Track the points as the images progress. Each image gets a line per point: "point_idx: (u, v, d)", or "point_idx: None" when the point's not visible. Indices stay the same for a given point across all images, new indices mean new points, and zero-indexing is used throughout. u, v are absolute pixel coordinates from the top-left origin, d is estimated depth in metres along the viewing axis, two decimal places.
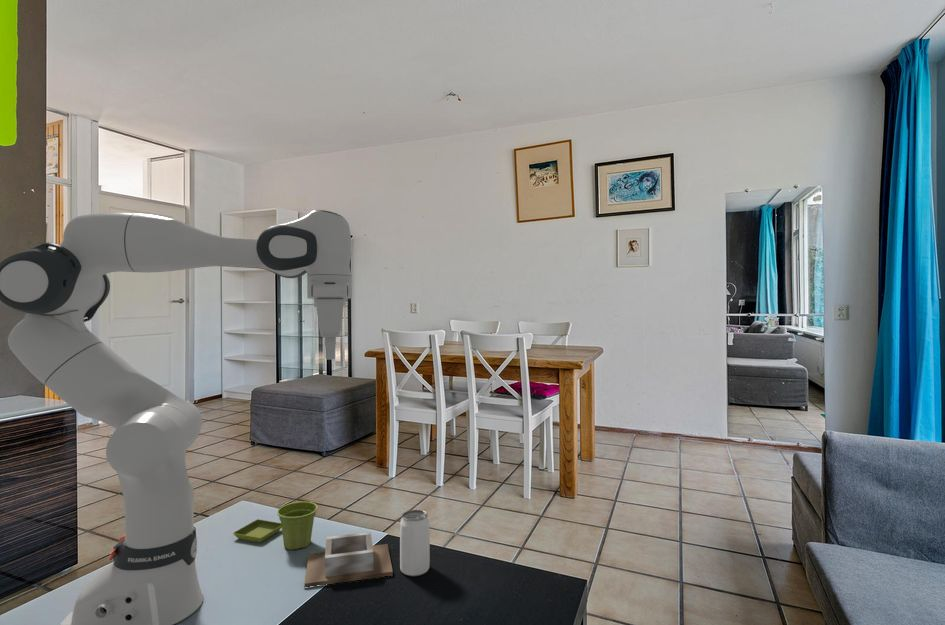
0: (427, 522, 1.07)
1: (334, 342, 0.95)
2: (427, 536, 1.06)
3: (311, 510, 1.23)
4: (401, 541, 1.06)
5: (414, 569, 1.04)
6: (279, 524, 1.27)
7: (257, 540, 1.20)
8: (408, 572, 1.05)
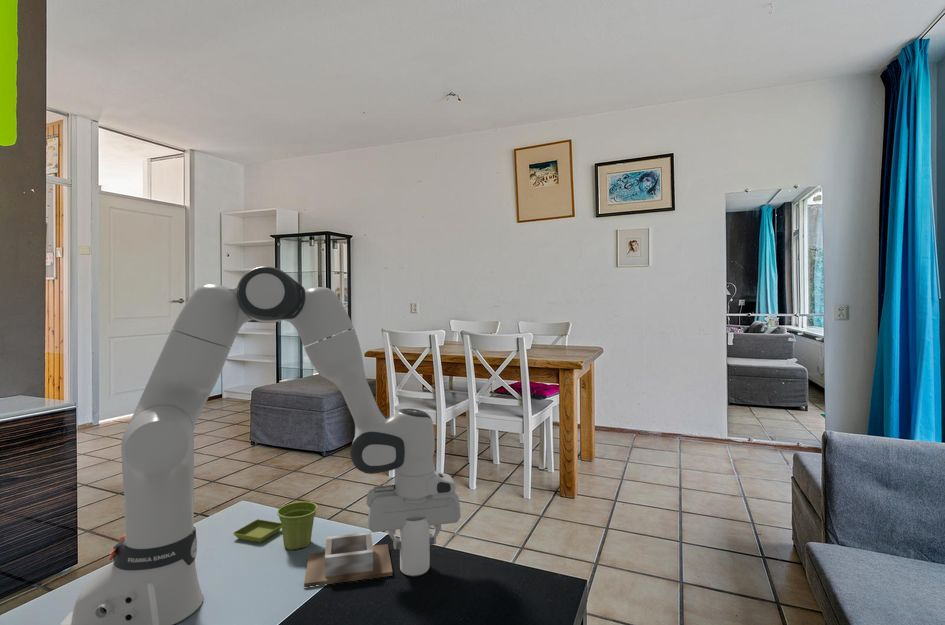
0: None
1: None
2: (427, 536, 1.06)
3: (311, 510, 1.23)
4: (401, 541, 1.06)
5: (414, 569, 1.04)
6: (279, 524, 1.27)
7: (257, 540, 1.20)
8: (408, 572, 1.05)
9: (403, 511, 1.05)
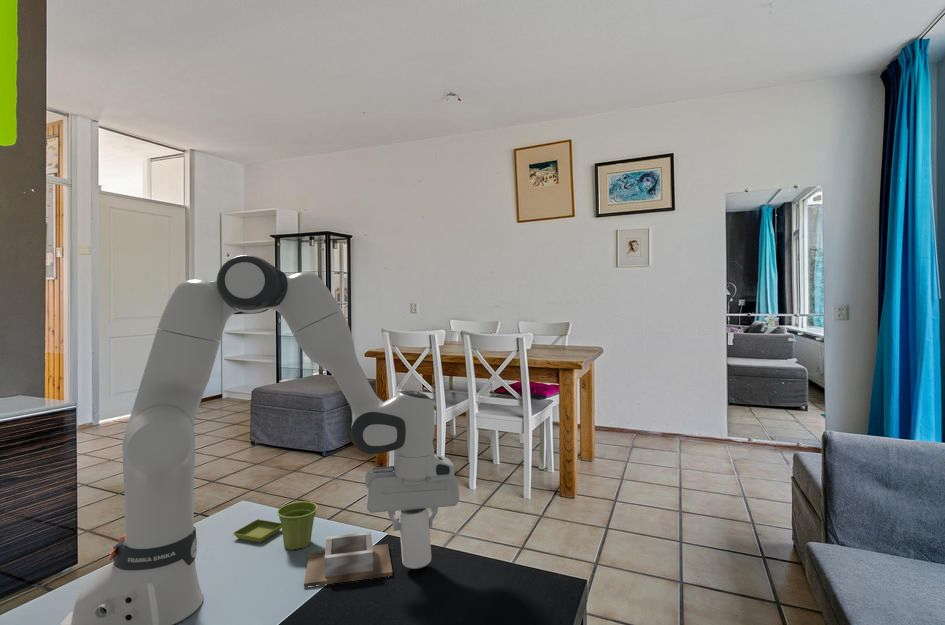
0: (426, 514, 1.06)
1: None
2: (427, 528, 1.06)
3: (311, 510, 1.23)
4: (401, 535, 1.06)
5: (416, 561, 1.04)
6: (279, 524, 1.27)
7: (257, 540, 1.20)
8: (410, 565, 1.05)
9: (401, 492, 1.05)
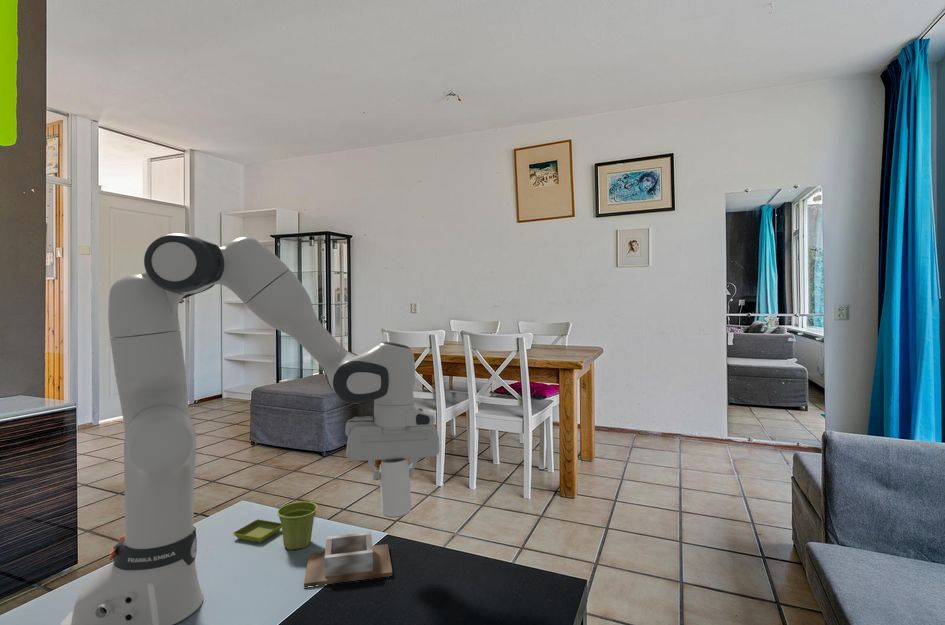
0: (406, 464, 1.07)
1: None
2: (407, 478, 1.07)
3: (311, 510, 1.23)
4: (381, 484, 1.06)
5: (395, 510, 1.05)
6: (279, 524, 1.27)
7: (257, 540, 1.20)
8: (390, 513, 1.05)
9: (381, 441, 1.05)
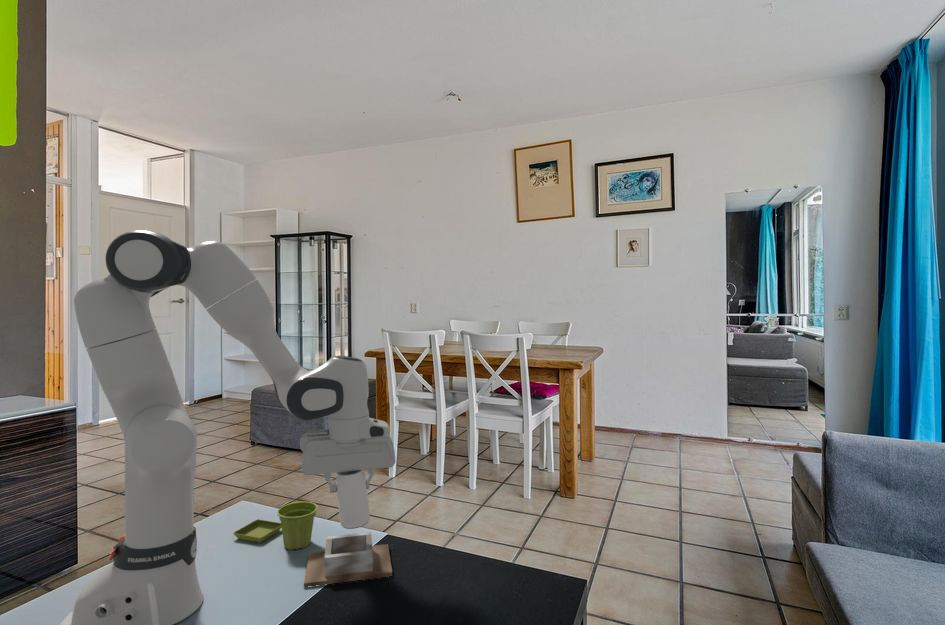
0: (362, 475, 1.08)
1: None
2: (363, 489, 1.08)
3: (311, 510, 1.23)
4: (338, 496, 1.07)
5: (352, 521, 1.06)
6: (279, 524, 1.27)
7: (257, 540, 1.20)
8: (347, 525, 1.06)
9: (336, 454, 1.07)
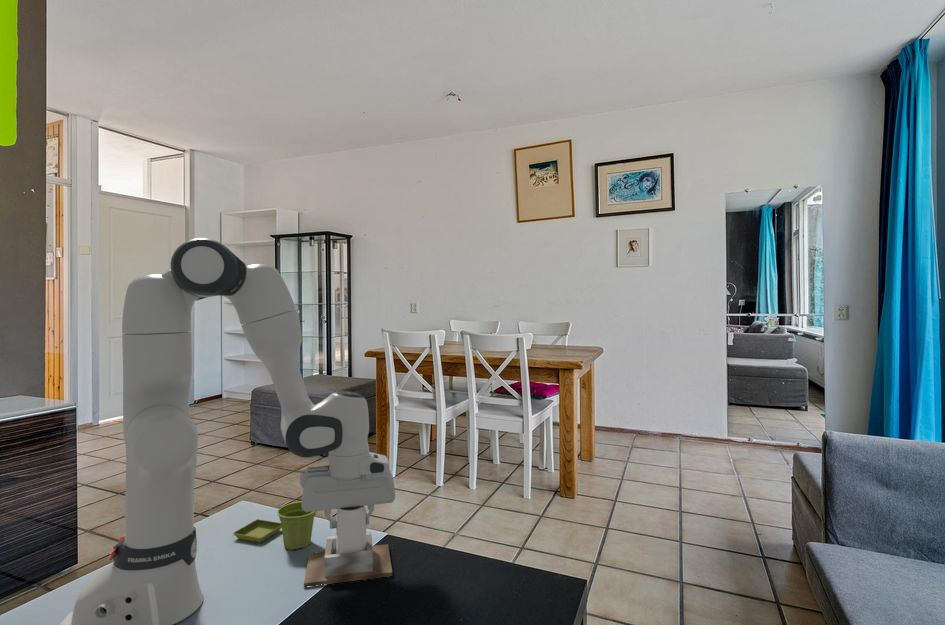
0: (363, 512, 1.08)
1: None
2: (363, 525, 1.08)
3: None
4: (337, 531, 1.07)
5: None
6: (279, 524, 1.27)
7: (257, 540, 1.20)
8: None
9: (336, 491, 1.07)
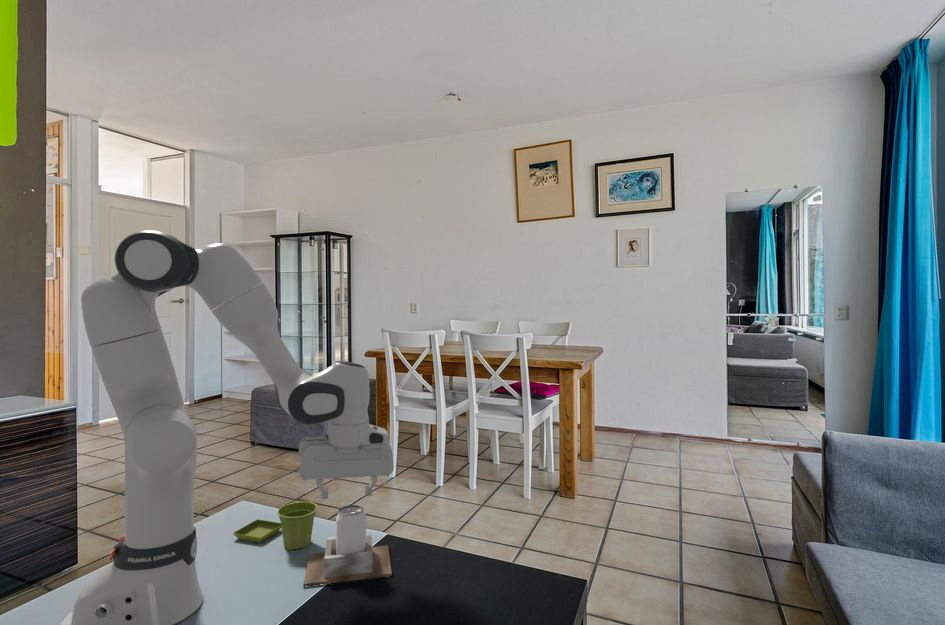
0: (363, 517, 1.08)
1: None
2: (362, 530, 1.07)
3: (311, 510, 1.23)
4: (336, 535, 1.07)
5: None
6: (279, 524, 1.27)
7: (257, 540, 1.20)
8: None
9: (335, 460, 1.06)
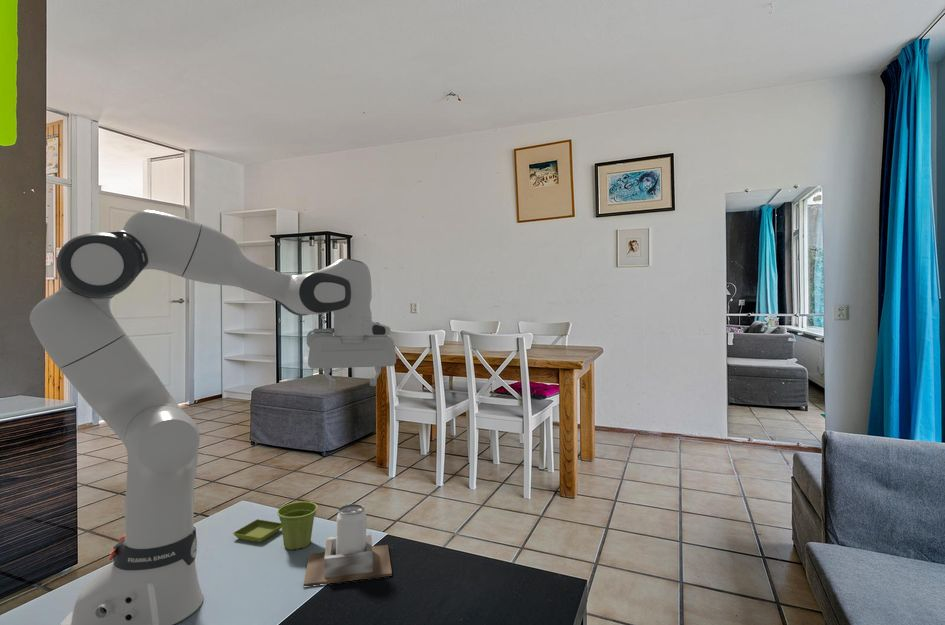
0: (363, 516, 1.08)
1: None
2: (363, 530, 1.08)
3: (311, 510, 1.23)
4: (337, 535, 1.07)
5: None
6: (279, 524, 1.27)
7: (257, 540, 1.20)
8: None
9: (341, 351, 1.14)
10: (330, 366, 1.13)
